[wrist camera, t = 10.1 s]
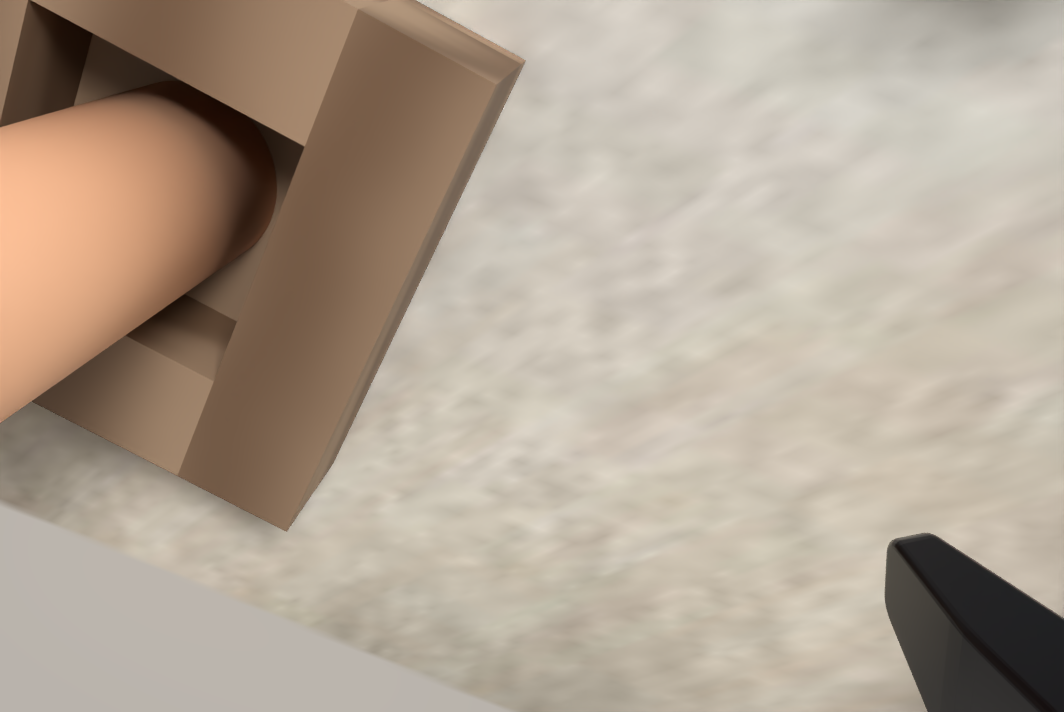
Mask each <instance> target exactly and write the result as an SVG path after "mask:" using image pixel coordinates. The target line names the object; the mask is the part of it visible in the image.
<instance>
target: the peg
mask: <svg viewBox="0 0 1064 712" xmlns="http://www.w3.org/2000/svg"><path fill="white" fill-rule="evenodd" d="M276 196H277V180H276V173H275V167H274V163H273V160H272V157H271V153H270V151H269V149H268V146H267V144H266V142H265V140H264V138H263V136H262V135H261V133H260V131H259V130H258V128H257V127H256V126H255V124H254V123H253V122H252V120H251V119H250V118H249V117H248V116H247V115H245V114H243V113H241V112H239V111H237V110H235V109H234V108H232V107H230V106H228V105H226V104H224V103H222V102H220V101H219V100H217V99H215V98H213V97H211V96H209V95H207V94H205V93H204V92H202V91H200V90H198V89H196V88H194V87H192V86H191V85H189V84H187V83H185V82H183V81H177V80H172V81H161V82H157V83H152V84H149V85H145V86H142V87H139V88H135V89H132V90H128V91H125V92H121V93H118V94H114V95H111V96H107V97H104V98H100V99H97V100H93V101H90V102H86V103H83V104H79V105H76V106H73V107H69V108H66V109H62V110H59V111H55V112H52V113H48V114H45V115H41V116H38V117H34V118H31V119H27V120H24V121H20V122H17V123H14V124H10V125H7V126H3V127H0V423H1V422H2V421H4V420H5V419H7V418H8V417H10V416H11V415H12V414H14V413H15V412H17V411H18V410H20V409H21V408H22V407H24V406H25V405H27V404H28V403H30V402H31V401H32V400H34V399H35V398H37V397H38V396H40V395H41V394H42V393H44V392H45V391H47V390H48V389H50V388H51V387H52V386H54V385H55V384H57V383H58V382H59V381H61V380H62V379H64V378H65V377H67V376H68V375H69V374H71V373H72V372H74V371H75V370H77V369H78V368H79V367H81V366H82V365H84V364H85V363H87V362H88V361H89V360H91V359H92V358H94V357H95V356H97V355H98V354H99V353H101V352H102V351H104V350H105V349H107V348H108V347H109V346H111V345H112V344H114V343H115V342H117V341H118V340H119V339H121V338H122V337H124V336H125V335H126V334H128V333H129V332H131V331H132V330H134V329H135V328H136V327H138V326H139V325H141V324H142V323H144V322H145V321H146V320H148V319H149V318H151V317H152V316H154V315H155V314H156V313H158V312H159V311H161V310H162V309H164V308H165V307H166V306H168V305H169V304H171V303H172V302H174V301H175V300H176V299H178V298H179V297H181V296H182V295H183V294H185V293H186V292H188V291H189V290H191V289H192V288H193V287H195V286H196V285H198V284H199V283H201V282H202V281H203V280H205V279H206V278H208V277H209V276H211V275H212V274H213V273H215V272H216V271H218V270H219V269H221V268H222V267H223V266H225V265H226V264H228V263H229V262H231V261H232V260H233V259H235V258H236V257H238V256H239V255H240V254H242V253H243V252H245V251H246V250H248V249H249V248H250V247H252V246H253V245H254V244H255V243H256V242H257V241H258V240H259V239H260V237H261V236H262V235H263V233H264V232H265V231H266V229H267V227H268V225H269V223H270V221H271V218H272V215H273V213H274V209H275V204H276Z"/></svg>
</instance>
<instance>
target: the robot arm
mask: <svg viewBox="0 0 1064 712" xmlns="http://www.w3.org/2000/svg"><path fill="white" fill-rule="evenodd" d="M885 604H886V609H887V612H888V616H889V619H890V621H891V624H892V626H893V629H894V631H895V634H896V636H897V638H898V641H899V643H900V646H901V648H902V651H903V653H904V655H905V658H906V660H907V663H908V665H909V668H910V670H911V672H912V675H913V677H914V680H915V682H916V685H917V687H918V689H919V692H920V694H921V697H922V699H923V702H924V704H925V706H926V709H927V711H928V712H1064V618H1063V617H1061V616H1060V615H1058V614H1056V613H1055V612H1053V611H1052V610H1050V609H1049V608H1047V607H1046V606H1044V605H1043V604H1041V603H1039V602H1038V601H1036V600H1035V599H1033V598H1032V597H1030V596H1029V595H1027V594H1026V593H1024V592H1023V591H1021V590H1019V589H1018V588H1016V587H1015V586H1013V585H1012V584H1010V583H1009V582H1007V581H1006V580H1004V579H1002V578H1001V577H999V576H998V575H996V574H995V573H993V572H992V571H990V570H989V569H987V568H985V567H984V566H982V565H981V564H979V563H978V562H976V561H975V560H973V559H972V558H970V557H968V556H967V555H965V554H964V553H962V552H961V551H959V550H958V549H956V548H955V547H953V546H952V545H950V544H948V543H947V542H945V541H944V540H942V539H941V538H939V537H937V536H936V535H933V534H930V533H921V534H916V535H911V536H906V537H902V538H897V539H894V540H892V541H891V542H890V543H889V545H888V548H887V559H886V578H885Z"/></svg>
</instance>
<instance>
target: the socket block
mask: <svg viewBox="0 0 1064 712" xmlns="http://www.w3.org/2000/svg"><path fill="white" fill-rule="evenodd" d="M525 61H526V60H524V59H522V58H520V57H518V56H516V55H515V54H513V53H511V52H509V51H507V50H505V49H504V48H502V47H500V46H498V45H496V44H494V43H493V42H491V41H489V40H487V39H485V38H483V37H482V36H480V35H478V34H476V33H474V32H472V31H471V30H469V29H467V28H465V27H463V26H462V25H460V24H458V23H456V22H454V21H452V20H451V19H449V18H447V17H445V16H443V15H441V14H440V13H438V12H436V11H434V10H432V9H430V8H429V7H427V6H425V5H423V4H421V3H419V2H418V1H416V0H0V127H3V126H7V125H10V124H14V123H17V122H20V121H24V120H27V119H31V118H34V117H38V116H41V115H45V114H48V113H52V112H55V111H59V110H62V109H66V108H69V107H73V106H76V105H79V104H83V103H86V102H90V101H93V100H97V99H100V98H104V97H107V96H111V95H114V94H118V93H121V92H125V91H128V90H132V89H135V88H139V87H142V86H145V85H149V84H152V83H157V82H161V81H172V80H177V81H183V82H185V83H187V84H189V85H191V86H192V87H194V88H196V89H198V90H200V91H202V92H204V93H205V94H207V95H209V96H211V97H213V98H215V99H217V100H219V101H220V102H222V103H224V104H226V105H228V106H230V107H232V108H234V109H235V110H237V111H239V112H241V113H243V114H245V115H247V116H248V117H249V118H250V119H251V120H252V122H253V123H254V124H255V126H256V127H257V128H258V130H259V131H260V133H261V135H262V136H263V138H264V140H265V142H266V144H267V146H268V149H269V151H270V153H271V157H272V160H273V163H274V167H275V173H276V180H277V196H276V204H275V209H274V213H273V215H272V218H271V221H270V223H269V225H268V227H267V229H266V231H265V232H264V233H263V235H262V236H261V237H260V239H259V240H258V241H257V242H256V243H255V244H254V245H253V246H252V247H250V248H249V249H248V250H246V251H245V252H243V253H242V254H240V255H239V256H238V257H236V258H235V259H233V260H232V261H231V262H229V263H228V264H226V265H225V266H223V267H222V268H221V269H219V270H218V271H216V272H215V273H213V274H212V275H211V276H209V277H208V278H206V279H205V280H203V281H202V282H201V283H199V284H198V285H196V286H195V287H193V288H192V289H191V290H189V291H188V292H186V293H185V294H183V295H182V296H181V297H179V298H178V299H176V300H175V301H174V302H172V303H171V304H169V305H168V306H166V307H165V308H164V309H162V310H161V311H159V312H158V313H156V314H155V315H154V316H152V317H151V318H149V319H148V320H146V321H145V322H144V323H142V324H141V325H139V326H138V327H136V328H135V329H134V330H132V331H131V332H129V333H128V334H126V335H125V336H124V337H122V338H121V339H119V340H118V341H117V342H115V343H114V344H112V345H111V346H109V347H108V348H107V349H105V350H104V351H102V352H101V353H99V354H98V355H97V356H95V357H94V358H92V359H91V360H89V361H88V362H87V363H85V364H84V365H82V366H81V367H79V368H78V369H77V370H75V371H74V372H72V373H71V374H69V375H68V376H67V377H65V378H64V379H62V380H61V381H59V382H58V383H57V384H55V385H54V386H52V387H51V388H50V389H48V390H47V391H45V392H44V393H42V394H41V395H40V396H38V397H37V398H35V399H34V400H32V402H34V403H36V404H38V405H40V406H42V407H44V408H46V409H48V410H50V411H52V412H53V413H55V414H57V415H59V416H61V417H63V418H65V419H67V420H69V421H71V422H73V423H75V424H77V425H79V426H81V427H83V428H85V429H87V430H89V431H91V432H93V433H95V434H97V435H98V436H100V437H102V438H104V439H106V440H108V441H110V442H112V443H114V444H116V445H118V446H120V447H122V448H124V449H126V450H128V451H130V452H132V453H134V454H136V455H138V456H140V457H142V458H144V459H145V460H147V461H149V462H151V463H153V464H155V465H157V466H159V467H161V468H163V469H165V470H167V471H169V472H171V473H173V474H175V475H177V476H179V477H181V478H183V479H185V480H187V481H189V482H191V483H192V484H194V485H196V486H198V487H200V488H202V489H204V490H206V491H208V492H210V493H212V494H214V495H216V496H218V497H220V498H222V499H224V500H226V501H228V502H230V503H232V504H234V505H236V506H237V507H239V508H241V509H243V510H245V511H247V512H249V513H251V514H253V515H255V516H257V517H259V518H261V519H263V520H265V521H267V522H269V523H271V524H273V525H275V526H277V527H279V528H281V529H283V530H284V531H286V532H287V530H288V529H289V527H290V526H291V524H292V523H293V522H294V520H295V519H296V517H297V516H298V514H299V513H300V511H301V510H302V508H303V507H304V505H305V504H306V502H307V501H308V500H309V498H310V497H311V495H312V494H313V492H314V491H315V489H316V488H317V486H318V485H319V483H320V482H321V480H322V479H323V477H324V476H325V475H326V473H327V472H328V470H329V469H330V467H331V466H332V464H333V463H334V460H335V458H336V456H337V454H338V452H339V450H340V448H341V446H342V444H343V442H344V440H345V437H346V435H347V433H348V431H349V429H350V427H351V425H352V423H353V421H354V419H355V417H356V414H357V412H358V410H359V408H360V406H361V404H362V402H363V400H364V398H365V396H366V394H367V391H368V389H369V387H370V385H371V383H372V381H373V379H374V377H375V375H376V373H377V371H378V368H379V366H380V364H381V362H382V360H383V358H384V356H385V354H386V352H387V350H388V348H389V345H390V343H391V341H392V339H393V337H394V335H395V333H396V331H397V329H398V327H399V325H400V322H401V320H402V318H403V316H404V314H405V312H406V310H407V308H408V306H409V304H410V302H411V299H412V297H413V295H414V293H415V291H416V289H417V287H418V285H419V283H420V281H421V279H422V276H423V274H424V272H425V270H426V268H427V266H428V264H429V262H430V260H431V258H432V256H433V253H434V251H435V249H436V247H437V245H438V243H439V241H440V239H441V237H442V235H443V233H444V230H445V228H446V226H447V224H448V222H449V220H450V218H451V216H452V214H453V212H454V210H455V207H456V205H457V203H458V201H459V199H460V197H461V195H462V193H463V191H464V189H465V187H466V184H467V182H468V180H469V178H470V176H471V174H472V172H473V170H474V168H475V166H476V164H477V161H478V159H479V157H480V155H481V153H482V151H483V149H484V147H485V145H486V143H487V141H488V139H489V136H490V134H491V132H492V130H493V128H494V126H495V124H496V122H497V120H498V118H499V116H500V113H501V111H502V109H503V107H504V105H505V103H506V101H507V99H508V97H509V95H510V93H511V90H512V88H513V86H514V84H515V82H516V80H517V78H518V76H519V74H520V72H521V70H522V67H523V65H524V63H525Z"/></svg>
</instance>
